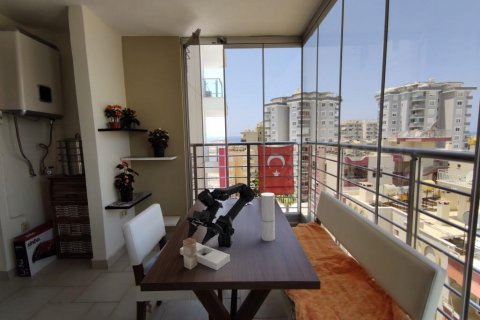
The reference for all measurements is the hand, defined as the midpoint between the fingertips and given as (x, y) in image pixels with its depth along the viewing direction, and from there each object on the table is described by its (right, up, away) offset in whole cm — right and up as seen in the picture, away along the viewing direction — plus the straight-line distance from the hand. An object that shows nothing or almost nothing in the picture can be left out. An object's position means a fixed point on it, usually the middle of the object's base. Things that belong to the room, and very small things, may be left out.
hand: (194, 242), depth 105 cm
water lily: (+24, 0, +86) cm, 90 cm away
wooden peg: (-2, -10, -1) cm, 10 cm away
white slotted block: (+4, -9, +5) cm, 11 cm away
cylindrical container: (+36, -7, +24) cm, 44 cm away
